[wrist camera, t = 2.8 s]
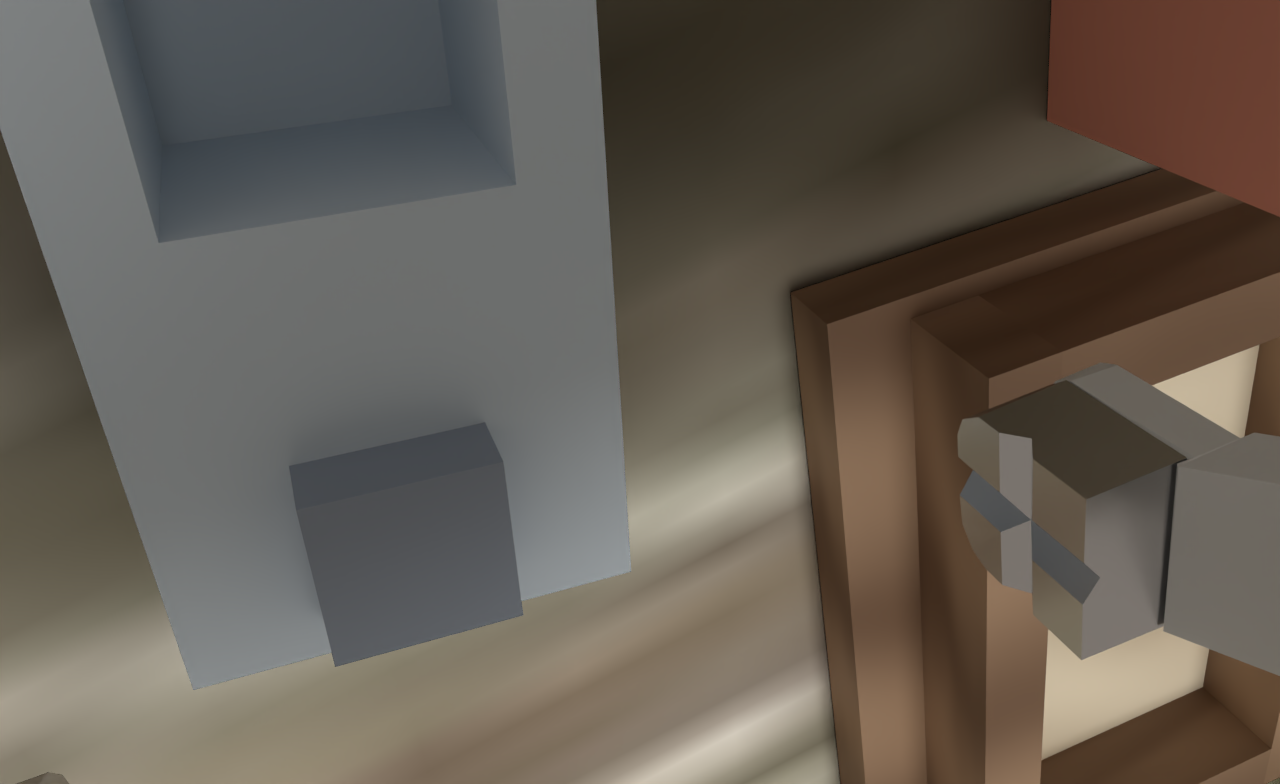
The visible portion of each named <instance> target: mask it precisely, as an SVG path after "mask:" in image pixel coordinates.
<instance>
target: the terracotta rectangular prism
mask: <svg viewBox="0 0 1280 784" xmlns="http://www.w3.org/2000/svg"><path fill="white" fill-rule="evenodd" d="M1047 121H1049V122H1051V123H1054V124H1056V125H1059V126H1061V127H1063V128H1066V129H1068V130H1071V131H1073V132H1075V133H1078V134H1080V135H1083V136H1085V137H1088V138H1090V139H1092V140H1095V141H1097V142H1100V143H1102V144H1104V145H1107V146H1109V147H1112V148H1114V149H1117V150H1119V151H1121V152H1124V153H1126V154H1129V155H1131V156H1133V157H1136V158H1138V159H1141V160H1143V161H1146V162H1148V163H1150V164H1153V165H1155V166H1158V167H1160V168H1162V169H1165V170H1167V171H1170V172H1172V173H1175V174H1177V175H1179V176H1182V177H1184V178H1187V179H1189V180H1191V181H1194V182H1196V183H1199V184H1201V185H1204V186H1206V187H1208V188H1211V189H1213V190H1216V191H1218V192H1220V193H1223V194H1225V195H1228V196H1230V197H1233V198H1235V199H1237V200H1240V201H1242V202H1245V203H1247V204H1249V205H1252V206H1254V207H1257V208H1259V209H1262V210H1264V211H1266V212H1269V213H1271V214H1274V215H1276V216H1278V217H1280V0H1051V27H1050V54H1049V81H1048V107H1047Z"/></svg>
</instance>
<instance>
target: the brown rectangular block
mask: <svg viewBox="0 0 1280 784" xmlns="http://www.w3.org/2000/svg"><path fill="white" fill-rule="evenodd" d="M791 302H792V312H793V321H794V331H795V341H796V351H797V360H798V370H799V380H800V390H801V400H802V409H803V419H804V429H805V439H806V448H807V458H808V468H809V478H810V488H811V497H812V507H813V517H814V527H815V536H816V546H817V556H818V566H819V575H820V585H821V595H822V605H823V615H824V624H825V634H826V644H827V654H828V663H829V673H830V683H831V693H832V703H833V712H834V722H835V732H836V742H837V751H838V761H839V771H840V781H841V784H1267V783H1269V782H1271V781H1273V780H1275V779H1277V778H1279V777H1280V676H1278V675H1276V674H1273V673H1270V672H1268V671H1265V670H1263V669H1260V668H1257V667H1255V666H1252V665H1250V664H1247V663H1244V662H1242V661H1239V660H1237V659H1234V658H1231V657H1229V656H1226V655H1224V654H1221V653H1218V652H1216V651H1213V650H1211V649H1208V648H1205V647H1203V646H1200V645H1198V644H1195V643H1192V642H1190V641H1187V640H1185V639H1182V638H1179V637H1177V636H1174V635H1172V634H1169V633H1166V632H1164V631H1163V627H1164V626H1163V627H1161V628H1158V629H1156V630H1153V631H1151V632H1149V633H1146V634H1144V635H1141V636H1139V637H1136V638H1134V639H1132V640H1129V641H1127V642H1124V643H1122V644H1120V645H1117V646H1115V647H1112V648H1110V649H1107V650H1105V651H1103V652H1100V653H1098V654H1095V655H1093V656H1091V657H1088V658H1086V659H1083V660H1081V659H1080V658H1078V657H1077V656H1076V655H1075V654H1074V653H1073V652H1072V651H1071V650H1070V649H1069V648H1068V647H1067V646H1066V645H1065V644H1064V643H1063V642H1061V641H1060V640H1059V639H1058V638H1057V637H1056V636H1055V635H1054V634H1053V633H1052V632H1051V631H1050V630H1049V629H1048V628H1047V627H1046V626H1045V625H1043V624H1042V623H1041V622H1040V621H1039V620H1038V619H1037V618H1036V617H1035V616H1034V615H1033V606H1032V593H1028V592H1025V591H1021V590H1018V589H1014V588H1011V587H1007V586H1004V585H1002V584H1001V583H1000V582H999V581H998V580H997V579H996V578H995V577H994V576H993V575H992V574H991V573H990V572H989V571H987V570H986V569H985V567H984V566H983V564H982V563H981V561H980V560H979V558H978V557H977V555H976V554H975V553H974V551H973V550H972V547H971V544H970V542H969V539H968V537H967V534H966V532H965V529H964V527H963V524H962V515H961V504H960V493H961V492H962V490H963V488H964V486H965V484H966V482H967V480H968V478H969V477H970V475H971V473H972V471H973V469H971V468H970V467H969V466H968V465H967V464H966V463H965V462H963V461H962V460H961V459H960V458H959V457H958V438H957V434H958V431H959V428H960V425H961V422H962V419H964V418H967V417H969V416H972V415H975V414H977V413H980V412H982V411H985V410H987V409H990V408H992V407H995V406H997V405H1000V404H1003V403H1005V402H1008V401H1010V400H1013V399H1015V398H1018V397H1020V396H1023V395H1025V394H1028V393H1030V392H1033V391H1036V390H1038V389H1041V388H1043V387H1046V386H1048V385H1052V384H1054V383H1055V381H1057V380H1060V379H1062V378H1064V377H1067V376H1069V375H1072V374H1074V373H1076V372H1079V371H1081V370H1084V369H1086V368H1089V367H1091V366H1093V365H1096V364H1098V363H1108V364H1114V365H1118V366H1120V367H1121V368H1123V369H1125V370H1126V371H1128V372H1130V373H1131V374H1133V375H1135V376H1136V377H1138V378H1140V379H1142V380H1143V381H1145V382H1147V383H1148V384H1150V385H1152V386H1153V387H1155V388H1157V389H1158V390H1160V391H1162V392H1163V393H1165V394H1167V395H1168V396H1170V397H1172V398H1174V399H1175V400H1177V401H1179V402H1180V403H1182V404H1184V405H1185V406H1187V407H1189V408H1190V409H1192V410H1194V411H1195V412H1197V413H1199V414H1200V415H1202V416H1204V417H1206V418H1207V419H1209V420H1211V421H1212V422H1214V423H1216V424H1217V425H1219V426H1221V427H1222V428H1224V429H1226V430H1227V431H1229V432H1231V433H1232V434H1234V435H1236V436H1237V437H1239V438H1242V437H1245V436H1247V435H1250V434H1252V433H1260V434H1266V435H1273V436H1279V437H1280V217H1278V216H1276V215H1274V214H1271V213H1269V212H1266V211H1264V210H1262V209H1259V208H1257V207H1254V206H1252V205H1249V204H1247V203H1245V202H1242V201H1240V200H1237V199H1235V198H1233V197H1230V196H1228V195H1225V194H1223V193H1220V192H1218V191H1216V190H1213V189H1211V188H1208V187H1206V186H1204V185H1201V184H1199V183H1196V182H1194V181H1191V180H1189V179H1187V178H1184V177H1182V176H1179V175H1177V174H1175V173H1172V172H1170V171H1167V170H1165V169H1160V170H1157V171H1154V172H1151V173H1148V174H1145V175H1142V176H1139V177H1136V178H1133V179H1130V180H1127V181H1124V182H1121V183H1118V184H1115V185H1112V186H1109V187H1106V188H1103V189H1100V190H1097V191H1094V192H1091V193H1088V194H1085V195H1082V196H1079V197H1076V198H1073V199H1070V200H1067V201H1064V202H1061V203H1058V204H1055V205H1052V206H1049V207H1046V208H1043V209H1040V210H1037V211H1034V212H1031V213H1028V214H1025V215H1022V216H1019V217H1016V218H1013V219H1010V220H1007V221H1004V222H1001V223H998V224H995V225H992V226H989V227H986V228H983V229H980V230H977V231H974V232H971V233H968V234H965V235H962V236H959V237H956V238H953V239H950V240H947V241H944V242H941V243H938V244H935V245H932V246H929V247H926V248H923V249H920V250H917V251H914V252H911V253H908V254H905V255H902V256H899V257H896V258H893V259H890V260H887V261H884V262H881V263H878V264H875V265H872V266H869V267H866V268H863V269H860V270H857V271H854V272H851V273H848V274H845V275H842V276H839V277H836V278H833V279H830V280H827V281H824V282H821V283H818V284H815V285H812V286H809V287H806V288H803V289H800V290H797V291H794V292H791Z"/></svg>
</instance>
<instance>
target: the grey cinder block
mask: <svg viewBox="0 0 1280 784" xmlns="http://www.w3.org/2000/svg"><path fill="white" fill-rule="evenodd" d="M0 130H1V133H2V136H3V139H4V142H5V145H6V148H7V151H8V153H9V156H10V159H11V162H12V165H13V168H14V171H15V174H16V177H17V180H18V182H19V185H20V188H21V191H22V194H23V197H24V200H25V203H26V206H27V209H28V212H29V214H30V217H31V220H32V223H33V226H34V229H35V232H36V235H37V238H38V241H39V243H40V246H41V249H42V252H43V255H44V258H45V261H46V264H47V267H48V270H49V272H50V275H51V278H52V281H53V284H54V287H55V290H56V293H57V296H58V299H59V301H60V304H61V307H62V310H63V313H64V316H65V319H66V322H67V325H68V328H69V330H70V333H71V336H72V339H73V342H74V345H75V348H76V351H77V354H78V357H79V359H80V362H81V365H82V368H83V371H84V374H85V377H86V380H87V383H88V386H89V388H90V391H91V394H92V397H93V400H94V403H95V406H96V409H97V412H98V415H99V418H100V420H101V423H102V426H103V429H104V432H105V435H106V438H107V441H108V444H109V447H110V449H111V452H112V455H113V458H114V461H115V464H116V467H117V470H118V473H119V476H120V478H121V481H122V484H123V487H124V490H125V493H126V496H127V499H128V502H129V505H130V507H131V510H132V513H133V516H134V519H135V522H136V525H137V528H138V531H139V534H140V536H141V539H142V542H143V545H144V548H145V551H146V554H147V557H148V560H149V563H150V565H151V568H152V571H153V574H154V577H155V580H156V583H157V586H158V589H159V592H160V594H161V597H162V600H163V603H164V606H165V609H166V612H167V615H168V618H169V621H170V624H171V626H172V629H173V632H174V635H175V638H176V641H177V644H178V647H179V650H180V653H181V655H182V658H183V661H184V664H185V667H186V670H187V673H188V676H189V679H190V682H191V684H192V687H193V690H196V689H199V688H203V687H207V686H210V685H214V684H218V683H222V682H225V681H229V680H233V679H236V678H240V677H244V676H247V675H251V674H255V673H258V672H262V671H266V670H270V669H273V668H277V667H281V666H284V665H288V664H292V663H295V662H299V661H303V660H306V659H310V658H314V657H318V656H321V655H325V654H329V653H332V656H333V660H334V664H335V667H336V666H340V665H344V664H347V663H351V662H355V661H358V660H362V659H366V658H369V657H373V656H376V655H380V654H384V653H387V652H391V651H395V650H398V649H402V648H406V647H409V646H413V645H416V644H420V643H424V642H427V641H431V640H435V639H438V638H442V637H446V636H449V635H453V634H457V633H460V632H464V631H467V630H471V629H475V628H478V627H482V626H486V625H489V624H493V623H497V622H500V621H504V620H508V619H511V618H515V617H518V616H522V615H523V610H522V602H521V601H524V600H528V599H532V598H535V597H539V596H543V595H546V594H550V593H554V592H558V591H561V590H565V589H569V588H572V587H576V586H580V585H583V584H587V583H591V582H594V581H598V580H602V579H606V578H609V577H613V576H617V575H620V574H624V573H628V572H631V562H630V545H629V529H628V513H627V496H626V480H625V464H624V447H623V431H622V415H621V398H620V382H619V366H618V350H617V333H616V317H615V301H614V284H613V268H612V252H611V235H610V219H609V203H608V186H607V170H606V154H605V138H604V121H603V105H602V89H601V72H600V56H599V40H598V23H597V7H596V0H0Z"/></svg>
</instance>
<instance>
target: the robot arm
mask: <svg viewBox="0 0 1280 784" xmlns="http://www.w3.org/2000/svg"><path fill="white" fill-rule="evenodd" d="M957 438H958V457H959V458H960V459H961V460H962V461H963V462H965V463H966V464H967V465H968V466H969V467H970V468H971V469H973V471H972V473H971V475H970V477H969V478H968V480H967V482H966V484H965V486H964V488H963V490H962V492H961V493H960V504H961V515H962V524H963V527H964V529H965V532H966V534H967V537H968V539H969V542H970V544H971V547H972V550H973V551H974V553H975V554H976V555H977V557H978V558H979V560H980V561H981V563H982V564H983V566H984V567H985V569H986V570H987V571H989V572H990V573H991V574H992V575H993V576H994V577H995V578H996V579H997V580H998V581H999V582H1000V583H1001V584H1002V585H1004V586H1007V587H1011V588H1014V589H1018V590H1021V591H1025V592H1028V593H1032V606H1033V615H1034V616H1035V617H1036V618H1037V619H1038V620H1039V621H1040V622H1041V623H1042V624H1043V625H1045V626H1046V627H1047V628H1048V629H1049V630H1050V631H1051V632H1052V633H1053V634H1054V635H1055V636H1056V637H1057V638H1058V639H1059V640H1060V641H1061V642H1063V643H1064V644H1065V645H1066V646H1067V647H1068V648H1069V649H1070V650H1071V651H1072V652H1073V653H1074V654H1075V655H1076V656H1077V657H1078V658H1080V659H1081V660H1083V659H1086V658H1088V657H1091V656H1093V655H1095V654H1098V653H1100V652H1103V651H1105V650H1107V649H1110V648H1112V647H1115V646H1117V645H1120V644H1122V643H1124V642H1127V641H1129V640H1132V639H1134V638H1136V637H1139V636H1141V635H1144V634H1146V633H1149V632H1151V631H1153V630H1156V629H1158V628H1161V627H1163V626H1164V627H1163V631H1164V632H1166V633H1169V634H1172V635H1174V636H1177V637H1179V638H1182V639H1185V640H1187V641H1190V642H1192V643H1195V644H1198V645H1200V646H1203V647H1205V648H1208V649H1211V650H1213V651H1216V652H1218V653H1221V654H1224V655H1226V656H1229V657H1231V658H1234V659H1237V660H1239V661H1242V662H1244V663H1247V664H1250V665H1252V666H1255V667H1257V668H1260V669H1263V670H1265V671H1268V672H1270V673H1273V674H1276V675H1278V676H1280V437H1279V436H1273V435H1266V434H1260V433H1252V434H1250V435H1247V436H1245V437H1242V438H1239V437H1237V436H1236V435H1234V434H1232V433H1231V432H1229V431H1227V430H1226V429H1224V428H1222V427H1221V426H1219V425H1217V424H1216V423H1214V422H1212V421H1211V420H1209V419H1207V418H1206V417H1204V416H1202V415H1200V414H1199V413H1197V412H1195V411H1194V410H1192V409H1190V408H1189V407H1187V406H1185V405H1184V404H1182V403H1180V402H1179V401H1177V400H1175V399H1174V398H1172V397H1170V396H1168V395H1167V394H1165V393H1163V392H1162V391H1160V390H1158V389H1157V388H1155V387H1153V386H1152V385H1150V384H1148V383H1147V382H1145V381H1143V380H1142V379H1140V378H1138V377H1136V376H1135V375H1133V374H1131V373H1130V372H1128V371H1126V370H1125V369H1123V368H1121V367H1120V366H1118V365H1114V364H1108V363H1098V364H1096V365H1093V366H1091V367H1089V368H1086V369H1084V370H1081V371H1079V372H1076V373H1074V374H1072V375H1069V376H1067V377H1064V378H1062V379H1060V380H1057V381H1055V383H1054V384H1052V385H1048V386H1046V387H1043V388H1041V389H1038V390H1036V391H1033V392H1030V393H1028V394H1025V395H1023V396H1020V397H1018V398H1015V399H1013V400H1010V401H1008V402H1005V403H1003V404H1000V405H997V406H995V407H992V408H990V409H987V410H985V411H982V412H980V413H977V414H975V415H972V416H969V417H967V418H964V419H962V422H961V425H960V428H959V431H958V434H957ZM17 784H69V783H68V782H67V780H66V779H65V778H64V776H63V775H61V774H55V773H50V772H47V773H44V774H41V775H39V776H36V777H33V778H30V779H28V780H25V781H22V782H19V783H17Z"/></svg>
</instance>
